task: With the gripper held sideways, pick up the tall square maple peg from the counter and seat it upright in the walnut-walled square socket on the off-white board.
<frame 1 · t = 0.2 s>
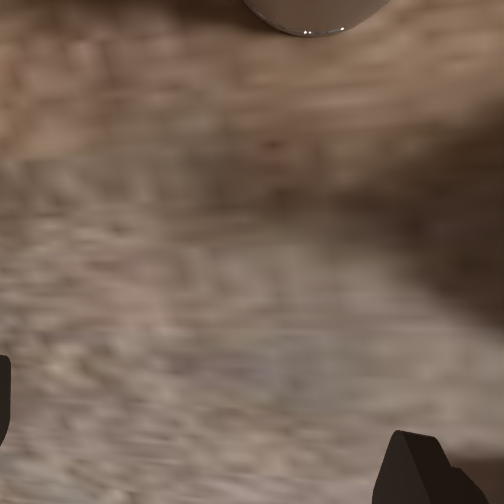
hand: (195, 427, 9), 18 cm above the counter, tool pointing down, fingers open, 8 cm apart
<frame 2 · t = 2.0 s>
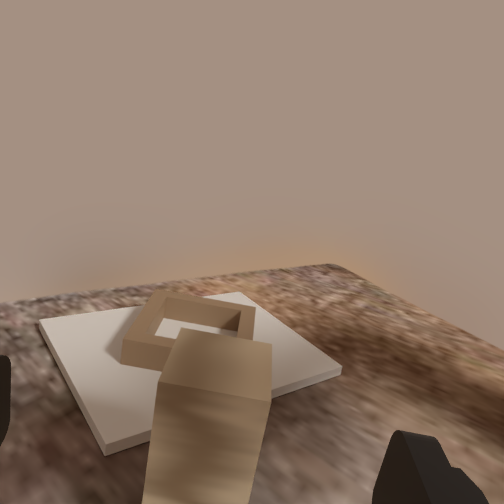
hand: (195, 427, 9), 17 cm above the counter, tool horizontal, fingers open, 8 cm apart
socket board: (192, 352, 44), on the counter
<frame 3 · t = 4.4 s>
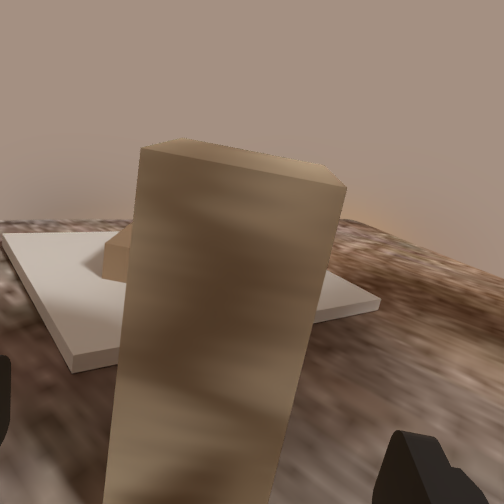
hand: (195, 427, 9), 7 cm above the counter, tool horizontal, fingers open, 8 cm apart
maple peg: (191, 480, 16), on the counter
socket board: (194, 278, 35), on the counter
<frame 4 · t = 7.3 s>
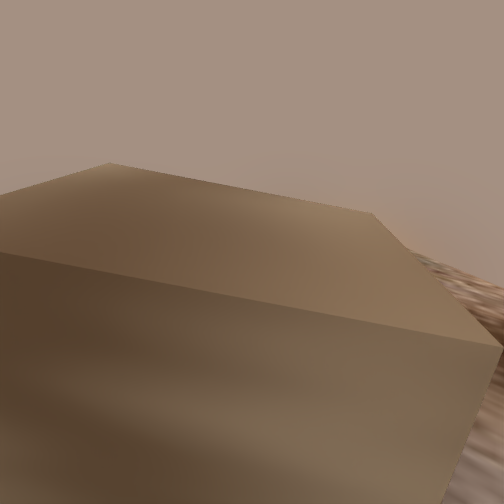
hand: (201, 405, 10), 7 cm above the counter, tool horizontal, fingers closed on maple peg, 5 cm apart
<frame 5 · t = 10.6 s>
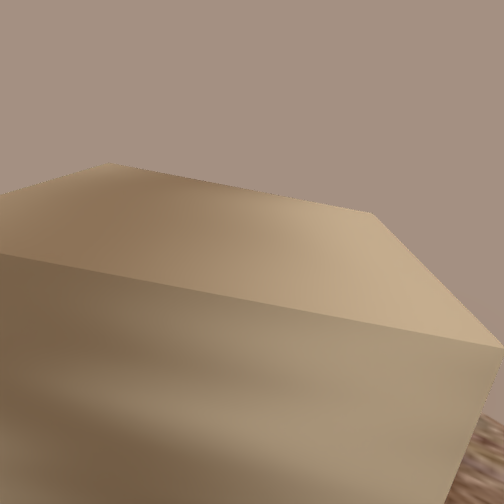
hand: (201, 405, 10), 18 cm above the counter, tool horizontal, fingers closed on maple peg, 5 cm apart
when the fingers open (9 cm above the counter, at t = 14.0 s): maple peg drops 1 cm, resting on socket board.
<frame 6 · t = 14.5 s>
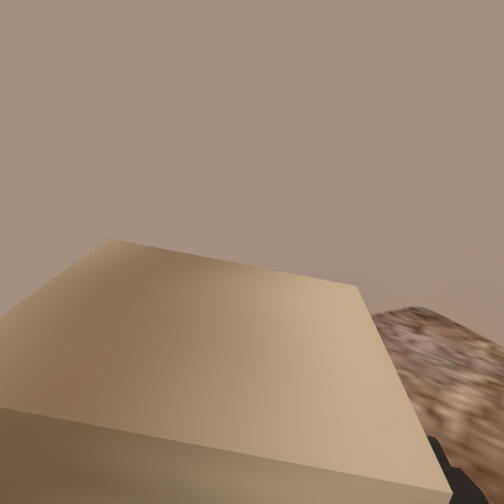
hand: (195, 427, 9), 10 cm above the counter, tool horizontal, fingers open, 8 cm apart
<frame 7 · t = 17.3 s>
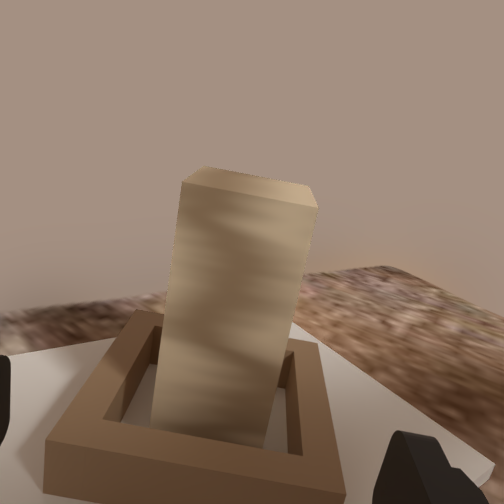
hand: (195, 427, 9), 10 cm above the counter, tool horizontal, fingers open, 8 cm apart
maple peg: (209, 422, 22), point 1 cm above the counter, touching socket board
socket board: (204, 438, 22), on the counter
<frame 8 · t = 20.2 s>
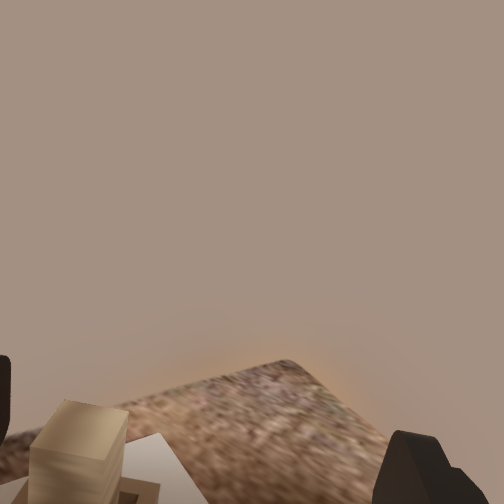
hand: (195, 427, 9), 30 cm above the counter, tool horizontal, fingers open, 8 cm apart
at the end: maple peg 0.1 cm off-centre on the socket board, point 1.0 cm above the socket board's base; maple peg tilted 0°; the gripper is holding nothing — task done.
